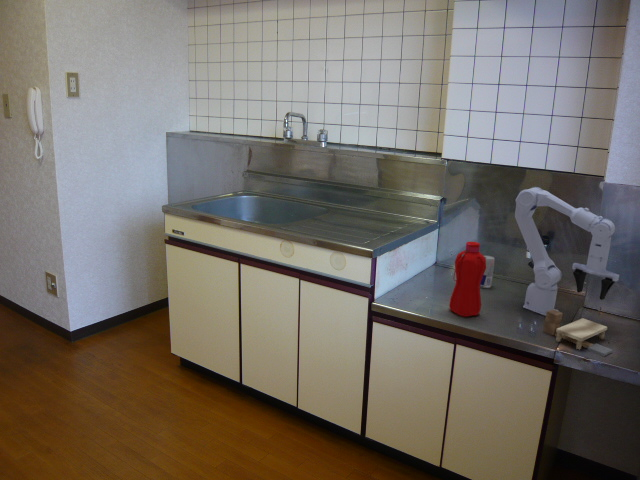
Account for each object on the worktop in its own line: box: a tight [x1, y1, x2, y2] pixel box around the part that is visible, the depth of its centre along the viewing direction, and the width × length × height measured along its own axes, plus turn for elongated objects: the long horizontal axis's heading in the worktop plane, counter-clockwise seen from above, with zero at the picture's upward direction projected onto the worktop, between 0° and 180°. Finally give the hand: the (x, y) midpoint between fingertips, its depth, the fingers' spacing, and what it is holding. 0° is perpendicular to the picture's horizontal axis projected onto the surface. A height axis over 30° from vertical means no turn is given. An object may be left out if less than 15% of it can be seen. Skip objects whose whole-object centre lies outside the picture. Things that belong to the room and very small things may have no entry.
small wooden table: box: [555, 317, 608, 351], centre depth 171 cm, size 8×16×4 cm, turn 128°
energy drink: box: [480, 254, 496, 289], centre depth 214 cm, size 5×5×12 cm
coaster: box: [586, 343, 613, 358], centre depth 164 cm, size 5×5×1 cm
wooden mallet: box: [543, 309, 595, 349], centre depth 170 cm, size 15×4×7 cm, turn 38°
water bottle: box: [448, 241, 486, 318], centre depth 185 cm, size 9×11×25 cm
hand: (590, 295), depth 182 cm, fingers open, 7 cm apart
